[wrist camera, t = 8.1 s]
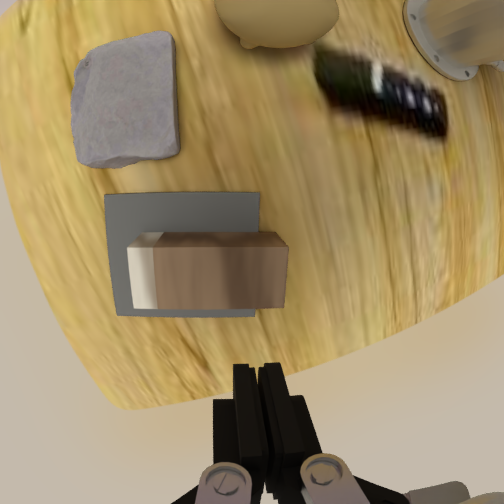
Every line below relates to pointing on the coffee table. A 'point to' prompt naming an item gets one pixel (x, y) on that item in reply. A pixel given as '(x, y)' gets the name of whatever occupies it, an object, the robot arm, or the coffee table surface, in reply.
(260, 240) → the walnut block
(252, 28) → the tan rounded figure
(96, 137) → the stone block
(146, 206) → the rubber mat
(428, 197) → the coffee table surface
